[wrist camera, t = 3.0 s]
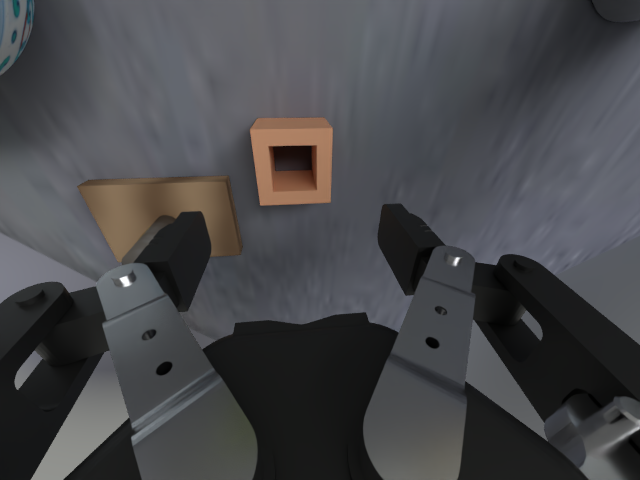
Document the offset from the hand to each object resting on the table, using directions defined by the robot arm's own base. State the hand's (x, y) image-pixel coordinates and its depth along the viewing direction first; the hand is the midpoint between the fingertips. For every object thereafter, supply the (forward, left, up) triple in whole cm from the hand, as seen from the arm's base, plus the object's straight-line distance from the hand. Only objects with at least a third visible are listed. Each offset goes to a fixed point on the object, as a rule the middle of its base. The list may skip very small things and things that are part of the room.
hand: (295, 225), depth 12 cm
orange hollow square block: (0, 0, -14) cm, 14 cm away
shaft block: (+12, +6, -14) cm, 19 cm away
